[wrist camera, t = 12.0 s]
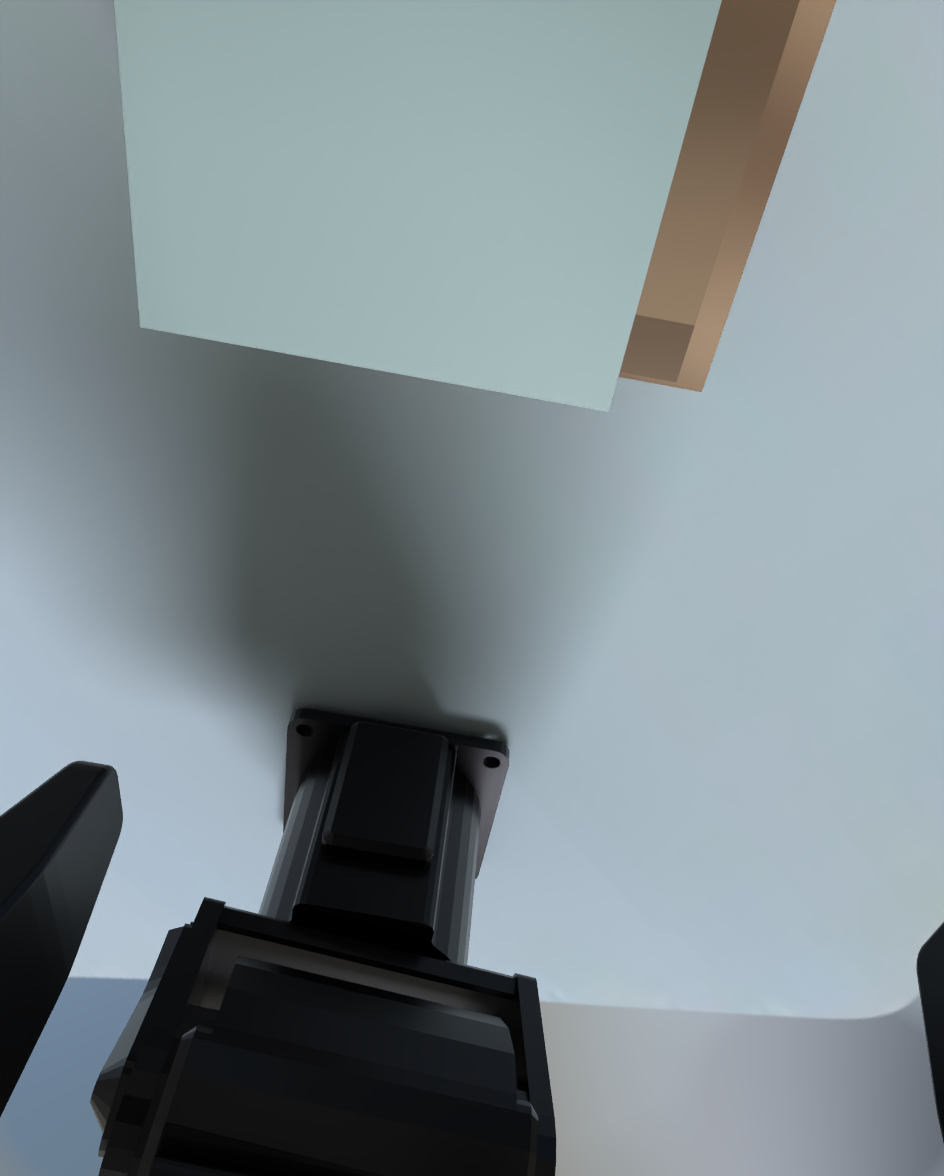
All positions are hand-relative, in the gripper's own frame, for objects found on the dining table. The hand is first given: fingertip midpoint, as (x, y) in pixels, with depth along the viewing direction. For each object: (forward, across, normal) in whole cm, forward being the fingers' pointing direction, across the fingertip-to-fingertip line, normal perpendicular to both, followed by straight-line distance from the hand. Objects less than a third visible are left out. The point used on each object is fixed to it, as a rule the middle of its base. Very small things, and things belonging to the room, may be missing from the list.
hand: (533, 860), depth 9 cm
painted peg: (+11, +2, -6) cm, 13 cm away
